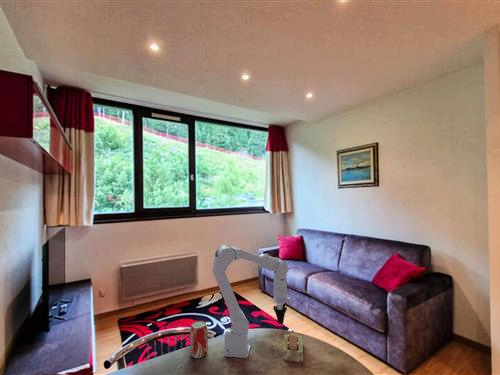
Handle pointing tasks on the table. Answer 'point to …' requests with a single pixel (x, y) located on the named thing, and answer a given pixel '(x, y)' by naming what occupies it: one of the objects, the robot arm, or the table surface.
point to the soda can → (198, 339)
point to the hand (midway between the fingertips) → (281, 319)
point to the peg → (292, 341)
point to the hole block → (293, 354)
